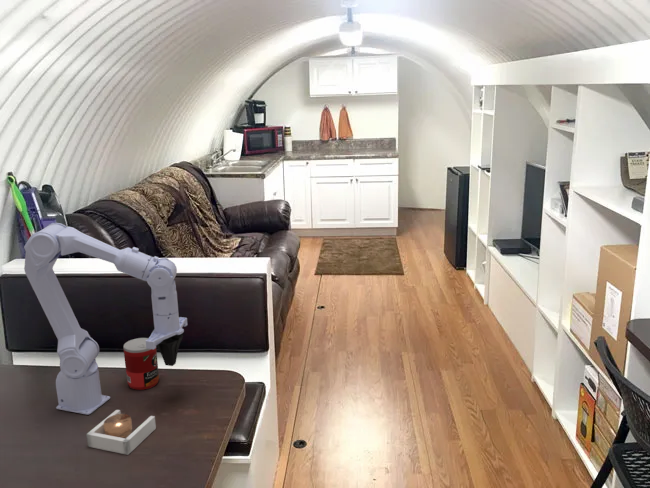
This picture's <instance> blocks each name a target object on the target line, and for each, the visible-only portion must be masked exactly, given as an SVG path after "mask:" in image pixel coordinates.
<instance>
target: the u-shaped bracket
mask: <svg viewBox="0 0 650 488" xmlns="http://www.w3.org/2000/svg"><path fill="white" fill-rule="evenodd" d="M117 414H122V411H121V410H120V409H115V410H114V411H113V412H112V413H110V414H109V415H108V416H107V417H106V418H104V419H103V420H102V421H100V423H99V422H98V424H97V425H95V427H93V428H92V429H91V430H90V431H88V432H87V433H85V434H86V442H87V447H89V448H94V449H98V450H103V451H106V452H107V451H108V452H112V453H117V454H121V455H127V456H129V455H130V454H131V453H132V452H133V451H134V450H135V449H136V448H137V447H139V445H140V444H142V442H143V441H144V440H146V438H148V437H149V436H150V435H151V433H153V432H154V431H155V430H156V428H157V425H156V424H157V423H156V416H155V415H150V416H148V418H146V419H145V420H144V421H143V422H142V423H141V424H140V425H139V426H138V427H137V428H136V429H135V430H133V432H132V433H131V434H130V435H129V436H128V437H127V438H126V439H125V438H120V437H115V436H110V435H105V430H104V421H105V420H106V419H107V418H109V417H111V416H113V415H117Z"/></svg>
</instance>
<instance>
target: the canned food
mask: <svg viewBox="0 0 650 488" xmlns="http://www.w3.org/2000/svg"><path fill="white" fill-rule="evenodd" d="M148 338H149V337H138V338H134V339H130V340H128V341H126V342H125V343H124V344H123V356H124V363H125V365H124V366H125V372H126V381H127V385H128V386H129V388H130V389H133V390H137V391H142V390H149V389H151V388H153V387H155V386H157V384H158V383H159V379H160V374H159V364H158V354H157V353H158V350H157V347H156V348H155V349H147V348H146V340H147V339H148Z"/></svg>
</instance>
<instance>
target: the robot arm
mask: <svg viewBox="0 0 650 488" xmlns="http://www.w3.org/2000/svg"><path fill="white" fill-rule="evenodd" d="M23 249H24V251H25V256H24V257H25V259H24V268H23V269H24V274H25V276H26V278H27V279H28V281H29V284H30V286H31V288H32V290H33V291H34V294H35V296H36V297H37V299H38V302H39V304H40V305H41V308H42V310H43V312H44V314H45V316H46V318H47V320H48V322H49V324H50V326H51V328H52V330H53V333H54V335H55V336H56V338H57V350H56V353H57V356H58V358H59V368H60V371H59V372H58V373H57V376H56V378H55V389H56V394H57V395H56V396H57V402H58V405H57V406H56V407H55V408H56V410H62V411H66V412H72V413H77V414H83V415H91V414H92V413H94V412H95V411H96V410H97V409H99V408H100V407H101V406H102V405H104V404H105V403H106V402H108V401H109V400H110V399H111V396H109V395H104V394H102V389H101V388H102V387H101V379H100V372H99V365H98V363H97V360H96V359H97V358H98V356H99V354H100V345H99V344H98V342H97V341H96V340H94V339H93V337H91V335H90V334H89V332H88V331H87V330H86V329H84V328H81V326H80V324H79V322H78V319H77V318H76V316H75V313H74V311H73V309H72V307H71V304H70V302H69V300H68V298H67V297H66V294H65V292H64V290H63V288H62V286H61V284H60V281H59V280H58V277H57V275H56V273H55V271H54V266H55V264H56V262H57V259H58V258H59V256H60V255H61V256H62V257H63V256H66V255H70V254H75V253H81V254H84V255H87V256H90V257H93V258H96V259H99V260H102V261H106V262H108V263H112V264H113V265H114V267H115V268H116V270H117V271H118V272H120V273H122V274H125V275H129V276H131V277H133V278H136V279H138V280H141V281H144V282H147V284H148V286H149V287H150V288H151V291H150V292H151V294H150V295H151V305H152V315H153V316H152V317H153V327H154V329H153V330H152V332H151V334H150V336H149V337H147V338H148V339H147V340H146V348H147V349H155V348H156V349H158V350H157V351H159V353H160V355H161V358H162V360H163V362H164V365H165V366H169V367H173V366H174V365H176V363H177V358H178V353H179V348H180V344H181V343H182V340H183V338H184V336H183V333H184V332H185V329H184V328H183V327H187V326H188V318H187V317H184V316H183V317H182V316H179V315H180V314H179V303H178V291H177V285H176V280H175V278H176V276H177V274H178V273H177V272H178V270H177V266H176V264H175V263H174V262H173V261H172V260H170V259H169V258H167V257H160V258H159V256H156V255H154V256H152V255H148V254H146V253H144V252H141V251H140V250H139V249H140V248H138V247H135V246H133V247H132V248H131V247H125V248H122V249H119V248H118V247H114V246H113V245H110V244H108V243H105V242H103V241H101V240H99V239H97V238H94V237H92V236H90V235H88V234H85V233H84V232H81V231H79V230H78V229H76V228H75V227H72V226H67V225H65V224H63V223H60V222H52V223H50V224H47V226H46V227H44V228H43V229H41V230H39V231H36V232H35V233H32V235H31V236H29V238H28V240H27V242H26V243H25V245H24V247H23Z"/></svg>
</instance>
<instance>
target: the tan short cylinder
mask: <svg viewBox="0 0 650 488" xmlns="http://www.w3.org/2000/svg"><path fill="white" fill-rule="evenodd" d="M106 418H107V417H106ZM106 418H105V419H106ZM104 430H105V435H110V436H115V437H120V438H125V439H126V438H127V437H128V436H129V435H130V434H131V433H132V432H133V431H134V430H133V423H132V417H131V415H129V414H127V413H121V414H117V415H113V416H111V417H109V418H107V419H106V420H105V421H104Z"/></svg>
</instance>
